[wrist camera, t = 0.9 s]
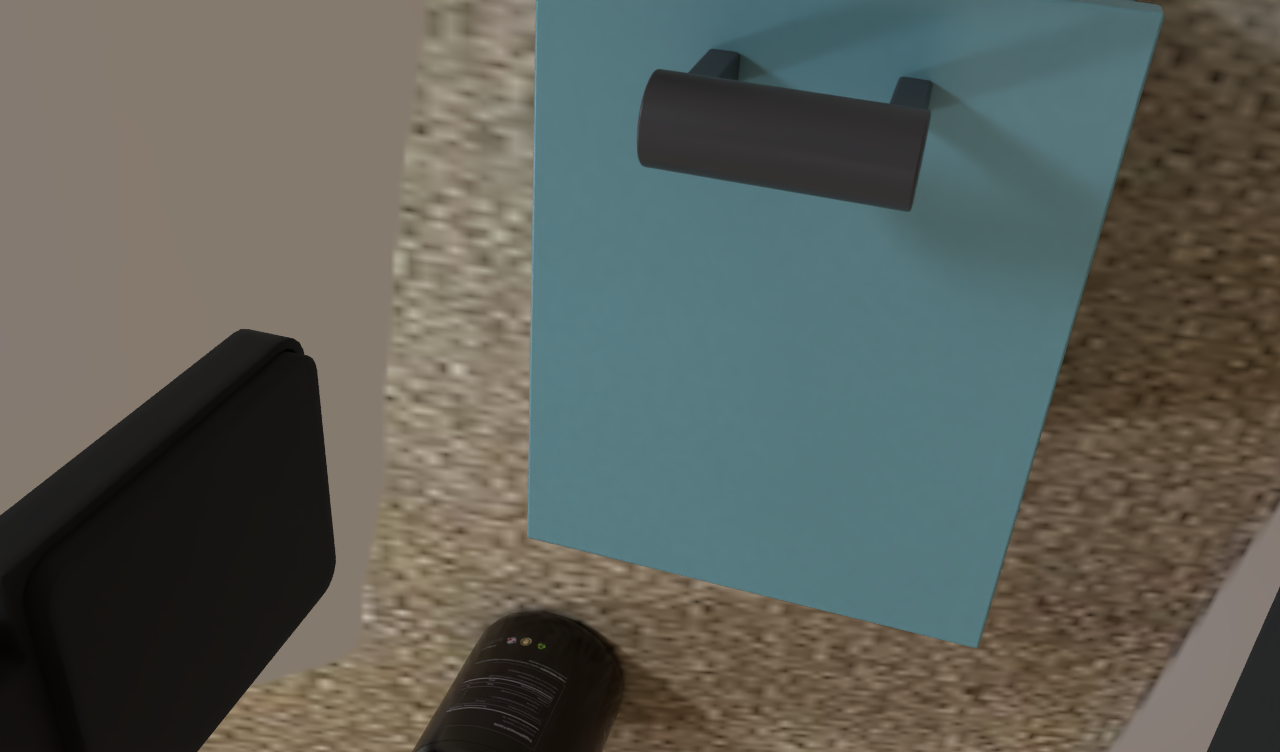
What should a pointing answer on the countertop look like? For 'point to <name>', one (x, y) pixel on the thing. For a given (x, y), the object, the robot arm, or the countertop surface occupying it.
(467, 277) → the countertop surface
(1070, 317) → the teal box lid
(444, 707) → the supplement bottle
